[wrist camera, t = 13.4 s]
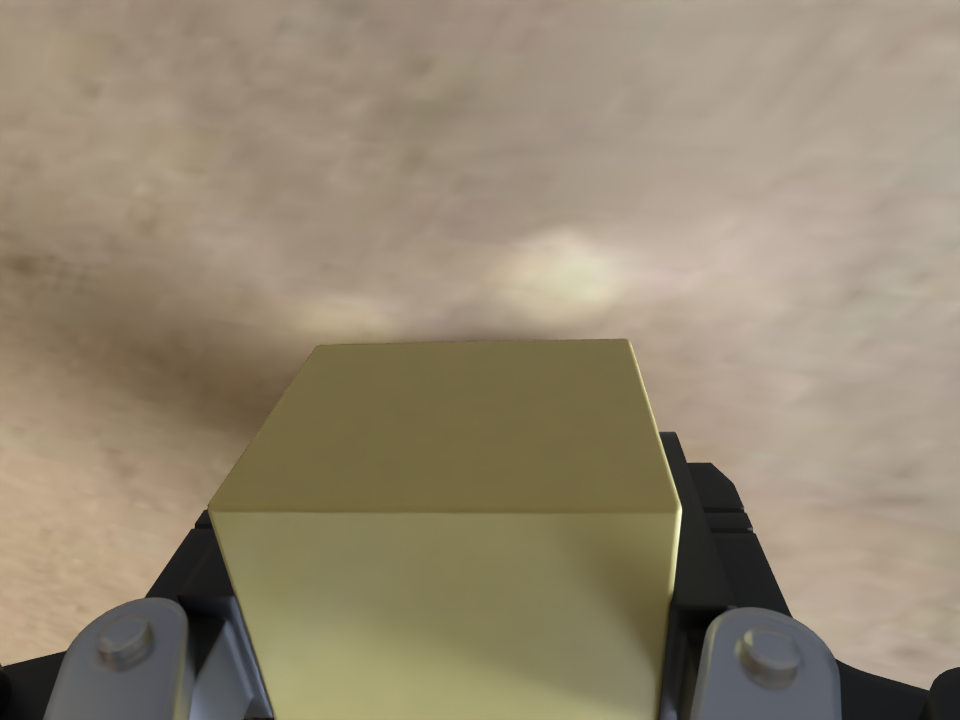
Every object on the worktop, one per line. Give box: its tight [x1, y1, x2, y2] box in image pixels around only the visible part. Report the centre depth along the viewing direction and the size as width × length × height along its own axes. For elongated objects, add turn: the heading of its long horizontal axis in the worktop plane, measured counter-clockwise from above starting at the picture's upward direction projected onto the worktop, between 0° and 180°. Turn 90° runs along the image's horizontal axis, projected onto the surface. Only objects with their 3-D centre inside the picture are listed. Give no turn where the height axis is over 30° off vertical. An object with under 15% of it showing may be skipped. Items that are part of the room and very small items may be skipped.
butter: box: [208, 339, 682, 720], centre depth 9 cm, size 5×5×4 cm
